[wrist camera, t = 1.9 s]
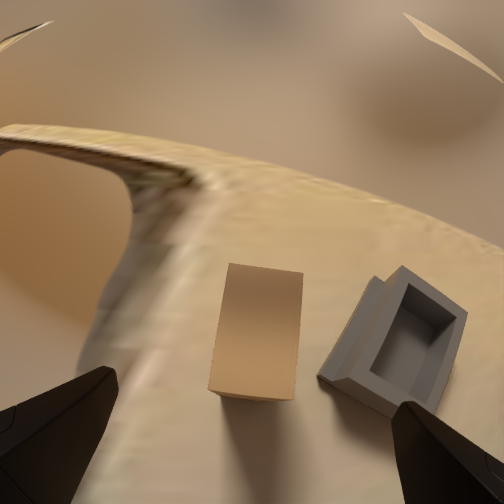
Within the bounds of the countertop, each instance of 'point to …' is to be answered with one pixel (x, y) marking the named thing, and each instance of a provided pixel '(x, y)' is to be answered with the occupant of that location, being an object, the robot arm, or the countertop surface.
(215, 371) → the tan rectangular block
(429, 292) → the end cap
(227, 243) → the countertop surface
